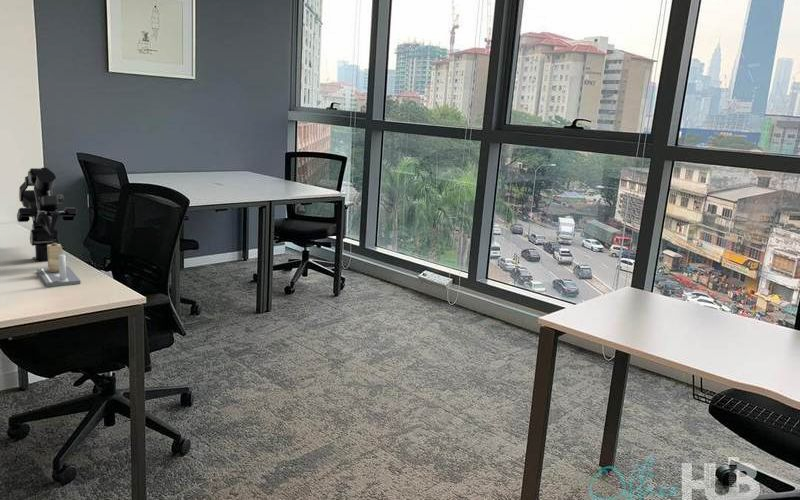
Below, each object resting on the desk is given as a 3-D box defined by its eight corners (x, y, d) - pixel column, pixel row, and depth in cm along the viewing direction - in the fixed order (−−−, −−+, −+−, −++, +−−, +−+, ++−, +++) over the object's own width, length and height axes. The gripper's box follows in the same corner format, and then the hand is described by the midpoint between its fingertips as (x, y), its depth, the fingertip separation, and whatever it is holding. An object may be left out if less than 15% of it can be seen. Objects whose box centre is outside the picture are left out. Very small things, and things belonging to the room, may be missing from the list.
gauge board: (37, 272, 217) (35, 244, 215) (68, 269, 223) (67, 242, 221) (47, 287, 202) (45, 257, 200) (80, 283, 208) (79, 255, 206)
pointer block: (48, 269, 216) (46, 242, 214) (60, 268, 219) (59, 241, 217) (50, 272, 213) (49, 245, 211) (63, 271, 216) (61, 244, 213)
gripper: (18, 185, 212) (25, 223, 207) (77, 186, 225) (85, 222, 220) (13, 202, 219) (20, 239, 214) (70, 202, 232) (78, 237, 227)
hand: (51, 234), depth 219 cm, fingers closed
